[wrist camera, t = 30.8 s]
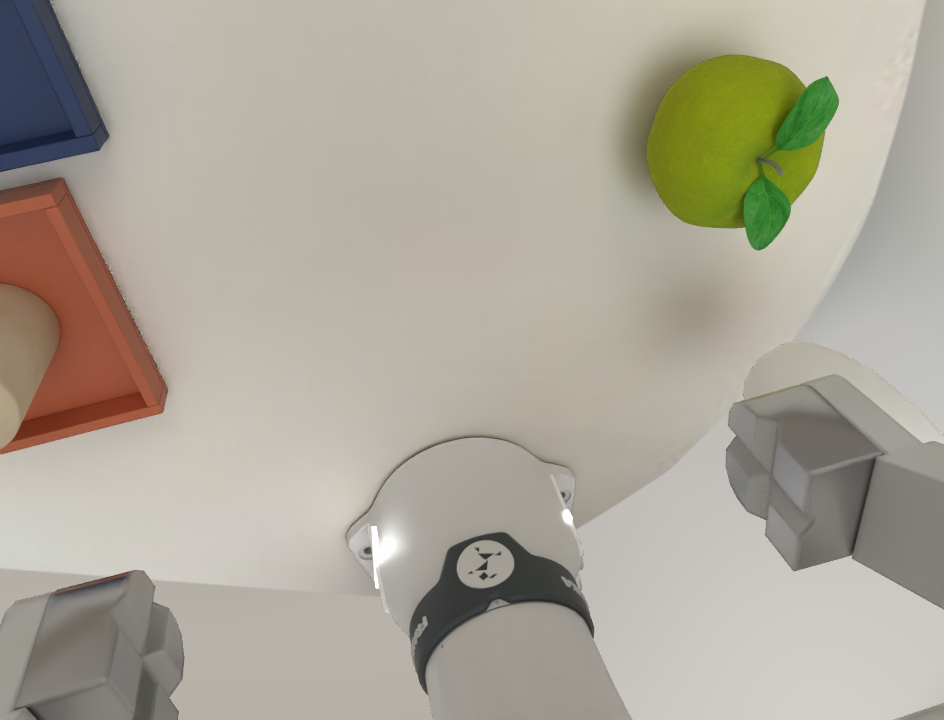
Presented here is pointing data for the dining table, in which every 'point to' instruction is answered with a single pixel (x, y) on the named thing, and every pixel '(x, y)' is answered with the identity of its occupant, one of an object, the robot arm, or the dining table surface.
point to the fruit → (738, 144)
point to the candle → (22, 353)
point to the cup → (816, 361)
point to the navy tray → (41, 90)
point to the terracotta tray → (74, 320)
